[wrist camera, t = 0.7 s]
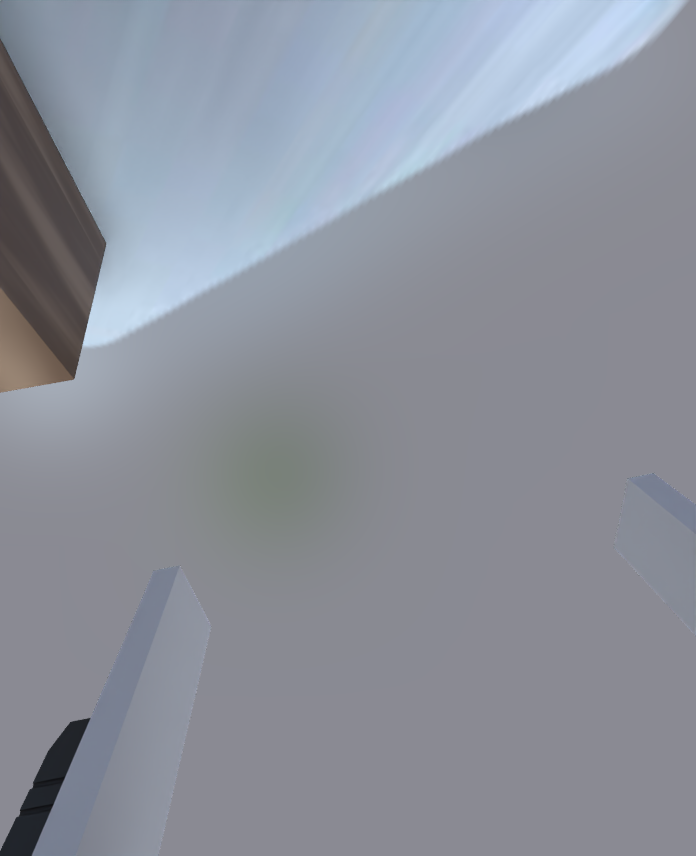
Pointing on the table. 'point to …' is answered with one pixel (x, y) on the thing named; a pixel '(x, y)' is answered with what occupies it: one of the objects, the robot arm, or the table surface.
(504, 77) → the table surface
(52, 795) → the robot arm
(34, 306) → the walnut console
